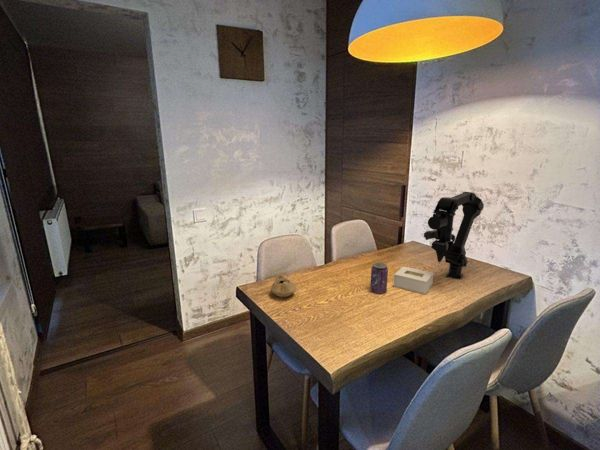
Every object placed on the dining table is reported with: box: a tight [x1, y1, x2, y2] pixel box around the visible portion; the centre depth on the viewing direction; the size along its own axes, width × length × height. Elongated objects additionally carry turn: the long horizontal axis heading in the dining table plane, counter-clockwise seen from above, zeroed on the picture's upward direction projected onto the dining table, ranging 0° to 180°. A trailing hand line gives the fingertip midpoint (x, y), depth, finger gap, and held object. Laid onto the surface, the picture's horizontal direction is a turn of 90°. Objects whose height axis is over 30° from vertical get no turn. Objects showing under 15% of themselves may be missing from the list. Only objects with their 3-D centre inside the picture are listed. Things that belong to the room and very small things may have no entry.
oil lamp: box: [270, 275, 297, 298], centre depth 139 cm, size 11×15×8 cm
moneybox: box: [393, 266, 434, 295], centre depth 147 cm, size 12×14×6 cm
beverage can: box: [369, 262, 389, 294], centre depth 141 cm, size 7×7×12 cm
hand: (441, 259), depth 147 cm, fingers open, 9 cm apart
